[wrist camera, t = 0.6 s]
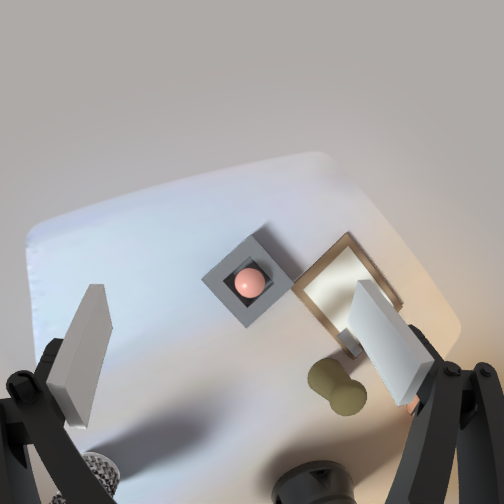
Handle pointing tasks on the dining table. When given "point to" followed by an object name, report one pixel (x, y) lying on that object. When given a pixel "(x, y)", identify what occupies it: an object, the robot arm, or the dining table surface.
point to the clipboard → (339, 290)
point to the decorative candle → (98, 474)
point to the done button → (249, 282)
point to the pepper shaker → (337, 387)
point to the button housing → (238, 259)
